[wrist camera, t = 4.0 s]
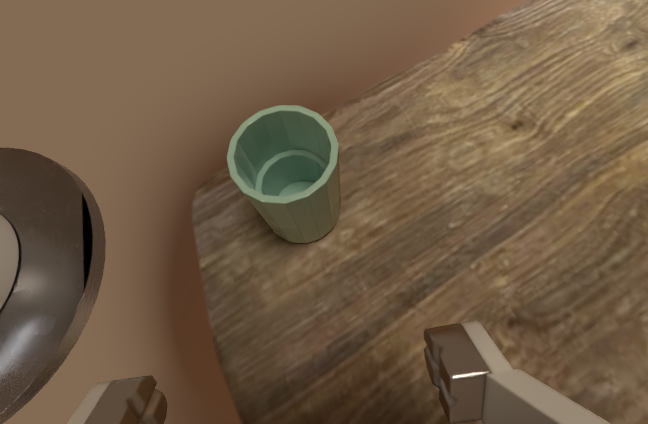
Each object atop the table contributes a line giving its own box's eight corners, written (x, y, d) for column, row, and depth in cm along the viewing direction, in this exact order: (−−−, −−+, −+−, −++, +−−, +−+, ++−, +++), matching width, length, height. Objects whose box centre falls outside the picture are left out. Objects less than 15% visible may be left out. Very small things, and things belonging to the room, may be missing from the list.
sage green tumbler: (277, 254, 24) (239, 217, 15) (260, 187, 26) (218, 122, 17) (350, 231, 24) (353, 182, 15) (327, 167, 26) (319, 92, 17)
